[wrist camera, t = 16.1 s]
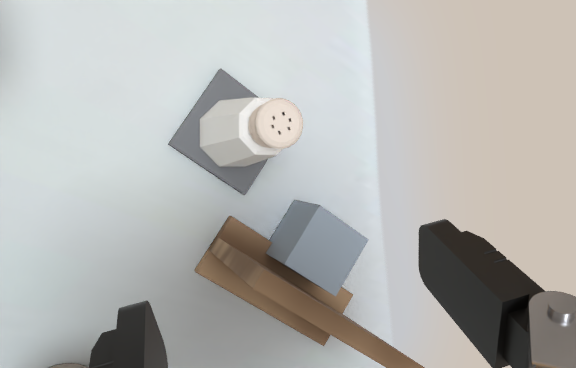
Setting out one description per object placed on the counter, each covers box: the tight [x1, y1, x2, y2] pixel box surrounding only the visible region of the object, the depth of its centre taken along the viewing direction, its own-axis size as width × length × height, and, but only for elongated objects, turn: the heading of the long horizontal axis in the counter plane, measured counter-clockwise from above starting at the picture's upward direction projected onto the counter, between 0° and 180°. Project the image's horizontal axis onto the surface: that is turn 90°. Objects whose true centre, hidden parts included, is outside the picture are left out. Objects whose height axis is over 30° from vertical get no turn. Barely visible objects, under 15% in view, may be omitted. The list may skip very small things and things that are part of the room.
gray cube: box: [266, 200, 368, 296], centre depth 37 cm, size 5×5×5 cm
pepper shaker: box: [200, 97, 303, 167], centre depth 31 cm, size 5×5×11 cm
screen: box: [195, 216, 424, 368], centre depth 33 cm, size 5×13×12 cm, turn 56°
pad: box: [169, 69, 268, 195], centre depth 36 cm, size 7×7×1 cm
